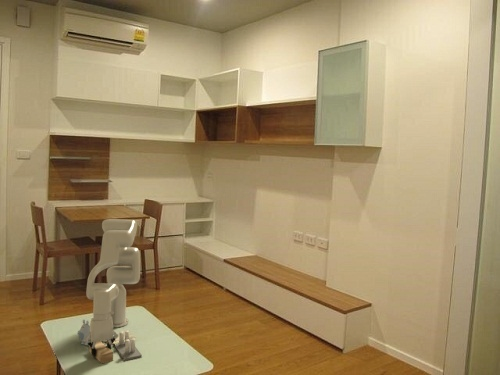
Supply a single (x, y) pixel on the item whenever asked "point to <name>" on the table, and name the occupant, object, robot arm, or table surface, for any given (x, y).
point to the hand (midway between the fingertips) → (101, 353)
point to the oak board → (102, 352)
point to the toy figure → (84, 332)
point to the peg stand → (127, 347)
